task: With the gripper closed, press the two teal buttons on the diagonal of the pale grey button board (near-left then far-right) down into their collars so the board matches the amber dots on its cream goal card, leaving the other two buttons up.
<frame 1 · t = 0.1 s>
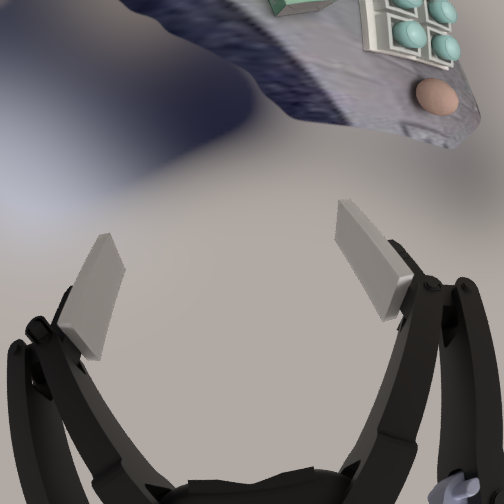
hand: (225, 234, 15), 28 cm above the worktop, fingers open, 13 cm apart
egg: (420, 92, 35), on the worktop
board: (403, 10, 25), on the worktop
button B: (410, 34, 23), point 7 cm above the worktop, slide at 0.0 cm
button D: (446, 47, 24), point 7 cm above the worktop, slide at 0.0 cm
button C: (442, 11, 19), point 7 cm above the worktop, slide at 0.0 cm
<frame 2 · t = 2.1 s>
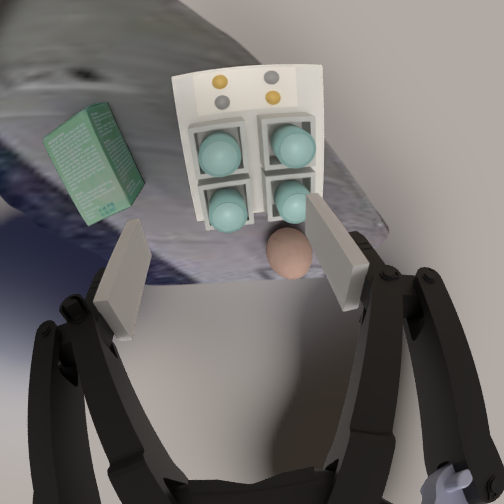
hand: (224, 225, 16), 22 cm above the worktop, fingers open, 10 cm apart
button A: (219, 153, 28), point 7 cm above the worktop, slide at 0.0 cm
egg: (282, 235, 43), on the worktop
board: (253, 139, 34), on the worktop
button B: (227, 210, 32), point 7 cm above the worktop, slide at 0.0 cm
box: (105, 152, 32), on the worktop
button D: (294, 201, 32), point 7 cm above the worktop, slide at 0.0 cm
button C: (293, 145, 28), point 7 cm above the worktop, slide at 0.0 cm
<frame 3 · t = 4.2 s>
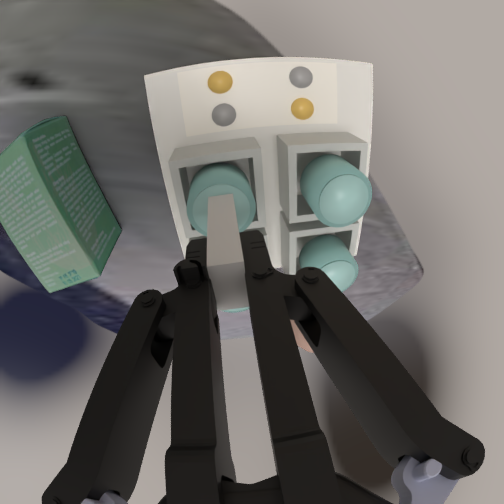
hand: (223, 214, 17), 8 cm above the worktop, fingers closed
button A: (220, 200, 18), point 6 cm above the worktop, slide at 0.5 cm, touching gripper
board: (269, 168, 24), on the worktop
button B: (233, 281, 22), point 7 cm above the worktop, slide at 0.0 cm
box: (67, 185, 22), on the worktop
button D: (328, 266, 22), point 7 cm above the worktop, slide at 0.0 cm
button C: (335, 190, 18), point 7 cm above the worktop, slide at 0.0 cm
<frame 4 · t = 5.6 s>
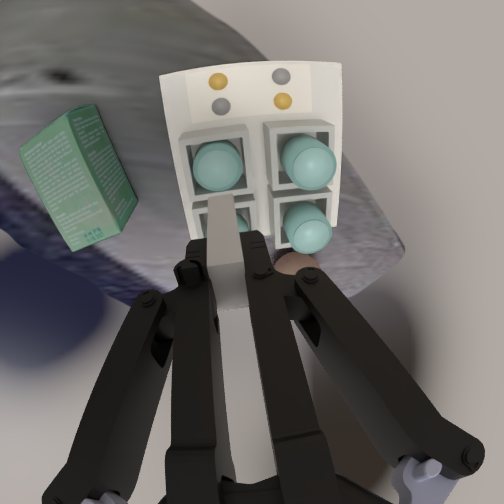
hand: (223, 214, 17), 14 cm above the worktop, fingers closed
button A: (217, 164, 24), point 5 cm above the worktop, slide at 2.2 cm
egg: (289, 258, 39), on the worktop
board: (258, 150, 29), on the worktop
button B: (227, 238, 27), point 7 cm above the worktop, slide at 0.0 cm
box: (92, 163, 27), on the worktop
button D: (307, 228, 27), point 7 cm above the worktop, slide at 0.0 cm
button C: (308, 162, 23), point 7 cm above the worktop, slide at 0.0 cm
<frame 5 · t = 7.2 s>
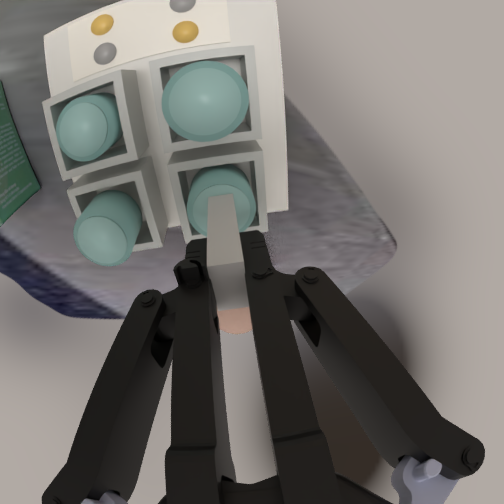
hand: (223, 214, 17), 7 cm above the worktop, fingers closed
button A: (91, 125, 14), point 5 cm above the worktop, slide at 2.2 cm
egg: (230, 257, 29), on the worktop
board: (165, 106, 19), on the worktop
button B: (108, 228, 17), point 7 cm above the worktop, slide at 0.0 cm
box: (0, 146, 16), on the worktop
button D: (220, 200, 18), point 6 cm above the worktop, slide at 1.2 cm, touching gripper
button C: (205, 99, 13), point 7 cm above the worktop, slide at 0.0 cm
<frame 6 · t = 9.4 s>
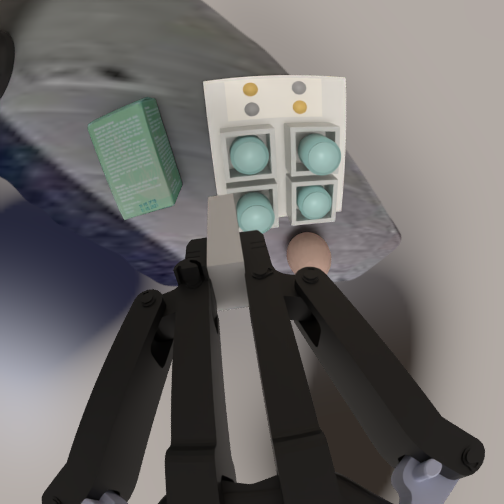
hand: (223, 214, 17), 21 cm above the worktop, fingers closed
button A: (248, 153, 31), point 5 cm above the worktop, slide at 2.2 cm
egg: (301, 239, 45), on the worktop
board: (278, 146, 35), on the worktop
button B: (254, 213, 33), point 7 cm above the worktop, slide at 0.0 cm
box: (145, 148, 33), on the worktop
button D: (312, 200, 35), point 5 cm above the worktop, slide at 2.2 cm
button C: (319, 154, 29), point 7 cm above the worktop, slide at 0.0 cm
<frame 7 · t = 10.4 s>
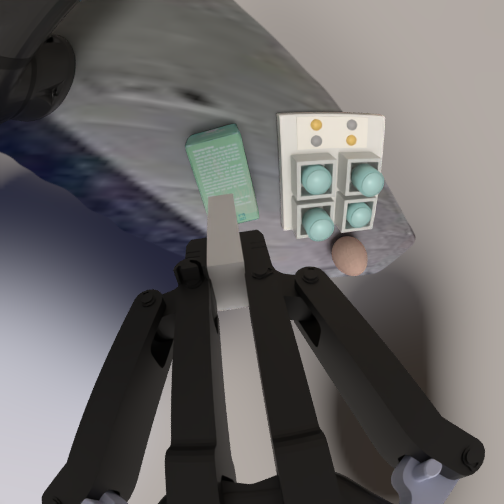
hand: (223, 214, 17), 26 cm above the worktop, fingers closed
button A: (314, 177, 39), point 5 cm above the worktop, slide at 2.2 cm
egg: (340, 241, 53), on the worktop
board: (330, 168, 44), on the worktop
button B: (318, 224, 42), point 7 cm above the worktop, slide at 0.0 cm
box: (223, 165, 42), on the worktop
button D: (357, 212, 44), point 5 cm above the worktop, slide at 2.2 cm
button C: (367, 180, 38), point 7 cm above the worktop, slide at 0.0 cm
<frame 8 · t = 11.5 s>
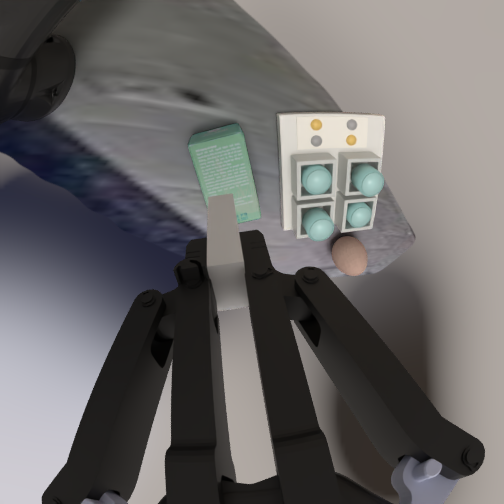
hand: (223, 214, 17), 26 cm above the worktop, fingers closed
button A: (314, 177, 39), point 5 cm above the worktop, slide at 2.2 cm
egg: (340, 241, 54), on the worktop
board: (330, 168, 44), on the worktop
button B: (318, 224, 42), point 7 cm above the worktop, slide at 0.0 cm
box: (225, 165, 42), on the worktop
button D: (357, 212, 44), point 5 cm above the worktop, slide at 2.2 cm
button C: (367, 180, 38), point 7 cm above the worktop, slide at 0.0 cm
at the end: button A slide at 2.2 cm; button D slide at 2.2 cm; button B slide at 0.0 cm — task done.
